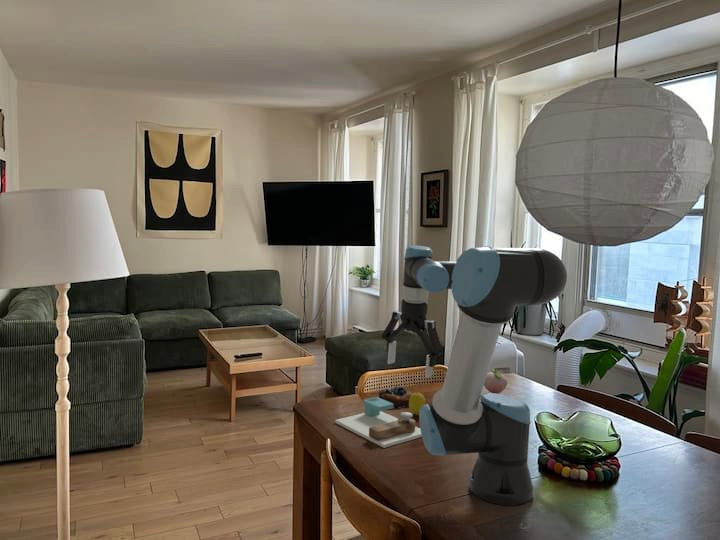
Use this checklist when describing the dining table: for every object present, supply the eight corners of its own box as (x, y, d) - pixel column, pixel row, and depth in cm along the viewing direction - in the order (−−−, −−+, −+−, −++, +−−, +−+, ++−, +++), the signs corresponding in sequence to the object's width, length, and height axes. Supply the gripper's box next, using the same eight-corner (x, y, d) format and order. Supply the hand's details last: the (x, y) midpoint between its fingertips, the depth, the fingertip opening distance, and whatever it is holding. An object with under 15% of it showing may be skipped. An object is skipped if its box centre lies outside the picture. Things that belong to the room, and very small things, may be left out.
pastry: (374, 400, 208) (374, 384, 208) (402, 396, 214) (403, 381, 213) (388, 410, 199) (389, 393, 198) (418, 405, 204) (419, 389, 203)
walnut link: (406, 424, 181) (406, 416, 181) (418, 429, 176) (419, 421, 176) (367, 434, 171) (367, 426, 171) (379, 441, 167) (379, 432, 167)
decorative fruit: (478, 391, 222) (479, 366, 221) (497, 390, 224) (499, 365, 223) (489, 399, 213) (490, 372, 212) (509, 398, 215) (511, 372, 214)
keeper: (392, 421, 186) (393, 403, 186) (378, 425, 183) (379, 407, 182) (376, 414, 193) (376, 396, 192) (362, 417, 189) (362, 399, 189)
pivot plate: (427, 435, 176) (428, 416, 175) (384, 447, 165) (384, 427, 165) (377, 412, 195) (378, 395, 194) (335, 422, 184) (335, 404, 183)
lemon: (424, 412, 196) (425, 389, 195) (424, 418, 191) (425, 394, 190) (408, 411, 197) (409, 388, 196) (408, 417, 191) (409, 393, 190)
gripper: (459, 307, 160) (452, 378, 165) (388, 289, 176) (384, 354, 180) (444, 312, 154) (437, 386, 159) (373, 292, 170) (368, 360, 175)
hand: (409, 369), depth 170 cm, fingers open, 13 cm apart
